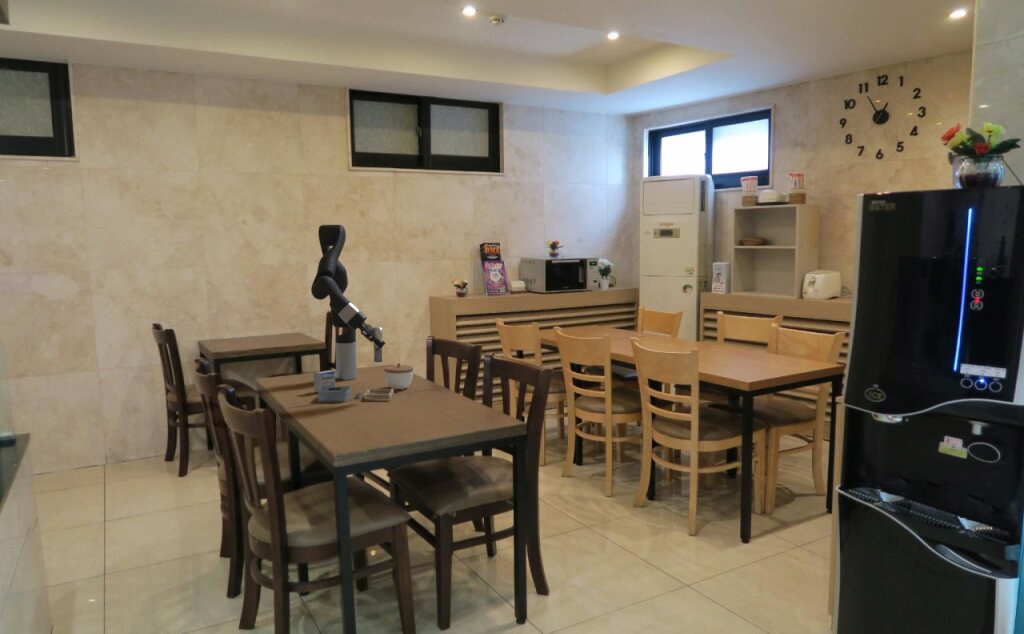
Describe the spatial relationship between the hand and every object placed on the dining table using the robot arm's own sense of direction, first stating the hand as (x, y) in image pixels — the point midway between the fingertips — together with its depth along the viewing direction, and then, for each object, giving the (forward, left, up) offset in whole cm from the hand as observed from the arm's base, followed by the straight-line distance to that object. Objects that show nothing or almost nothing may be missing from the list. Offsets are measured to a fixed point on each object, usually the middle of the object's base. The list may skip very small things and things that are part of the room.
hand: (382, 345), depth 276 cm
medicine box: (-13, -27, -22) cm, 37 cm away
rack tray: (0, -2, -22) cm, 22 cm away
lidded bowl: (-19, +4, -22) cm, 29 cm away
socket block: (+1, -20, -22) cm, 29 cm away
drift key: (-3, -11, -22) cm, 25 cm away
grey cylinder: (0, -2, -7) cm, 7 cm away
